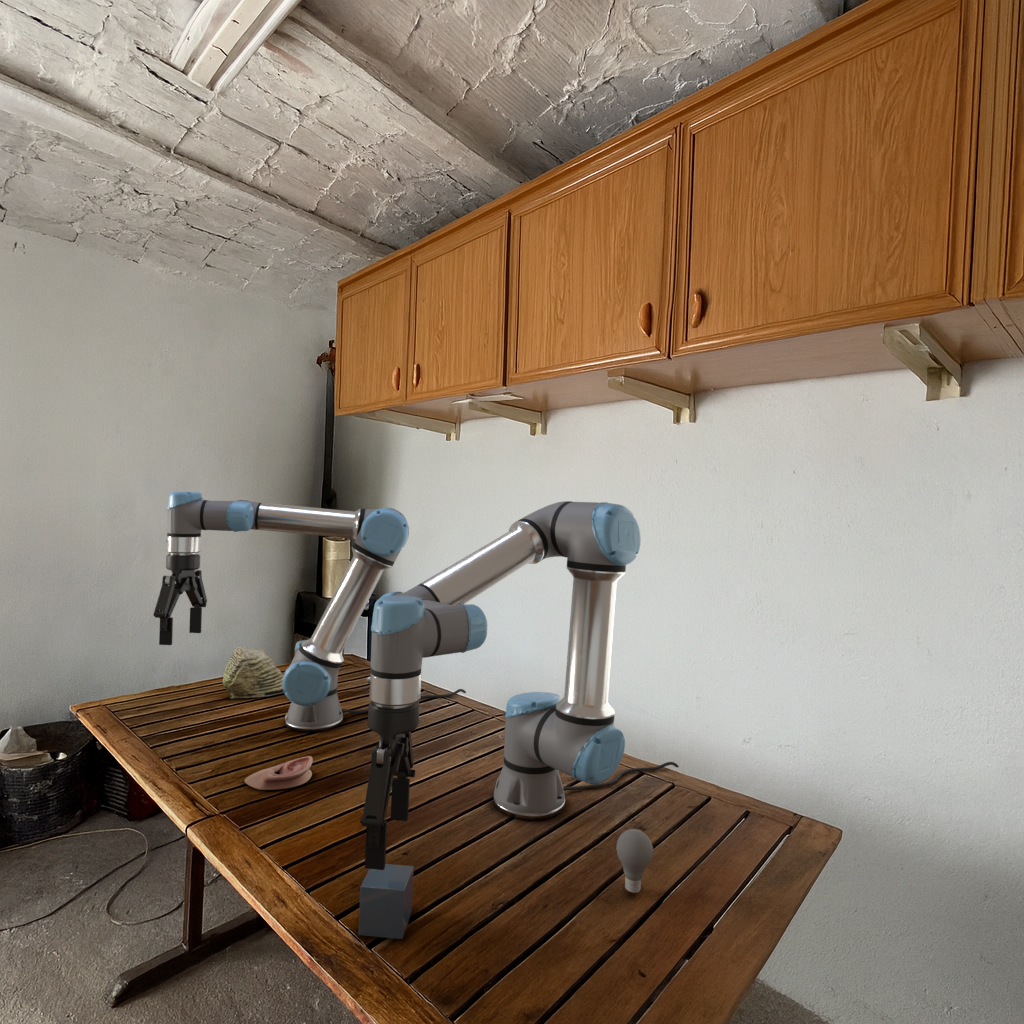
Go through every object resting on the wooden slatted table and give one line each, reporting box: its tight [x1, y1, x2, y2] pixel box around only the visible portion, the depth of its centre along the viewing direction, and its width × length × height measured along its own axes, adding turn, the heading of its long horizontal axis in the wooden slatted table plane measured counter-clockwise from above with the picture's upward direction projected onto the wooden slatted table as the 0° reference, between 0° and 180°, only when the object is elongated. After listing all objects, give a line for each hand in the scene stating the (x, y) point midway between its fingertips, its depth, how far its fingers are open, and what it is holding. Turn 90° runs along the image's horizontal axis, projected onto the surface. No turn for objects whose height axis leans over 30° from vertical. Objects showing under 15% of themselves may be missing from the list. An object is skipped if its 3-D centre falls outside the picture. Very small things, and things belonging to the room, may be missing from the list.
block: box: [358, 863, 415, 940], centre depth 95 cm, size 6×6×7 cm
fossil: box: [222, 646, 284, 699], centre depth 198 cm, size 9×18×15 cm, turn 132°
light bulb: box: [615, 828, 654, 894], centre depth 106 cm, size 6×6×10 cm
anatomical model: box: [244, 755, 314, 791], centre depth 141 cm, size 13×4×12 cm
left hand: (181, 638), depth 158 cm, fingers open, 13 cm apart
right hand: (387, 842), depth 95 cm, fingers open, 13 cm apart
